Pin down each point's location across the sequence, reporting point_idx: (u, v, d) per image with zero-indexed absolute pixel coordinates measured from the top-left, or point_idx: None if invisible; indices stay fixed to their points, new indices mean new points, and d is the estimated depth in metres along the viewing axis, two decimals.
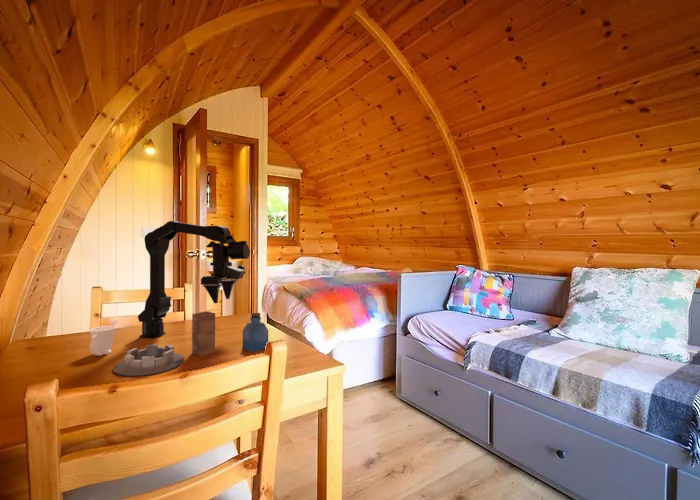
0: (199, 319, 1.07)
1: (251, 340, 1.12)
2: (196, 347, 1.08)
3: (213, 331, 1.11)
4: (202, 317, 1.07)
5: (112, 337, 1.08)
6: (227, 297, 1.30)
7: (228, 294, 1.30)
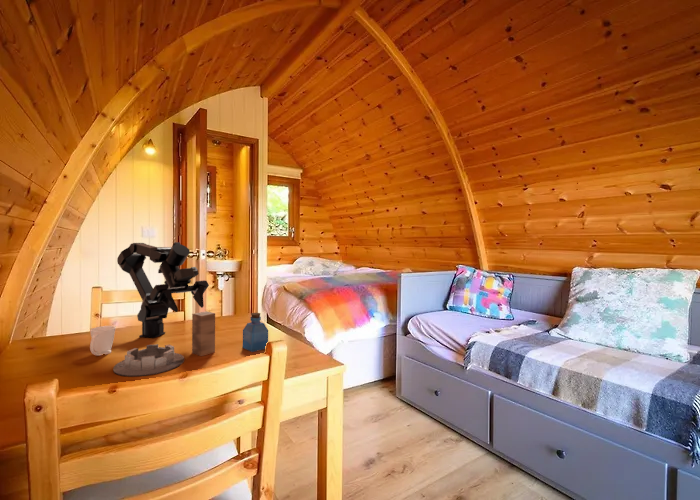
0: (199, 319, 1.07)
1: (251, 340, 1.12)
2: (196, 347, 1.08)
3: (213, 331, 1.11)
4: (202, 317, 1.07)
5: (112, 337, 1.08)
6: (201, 305, 1.19)
7: (200, 302, 1.19)
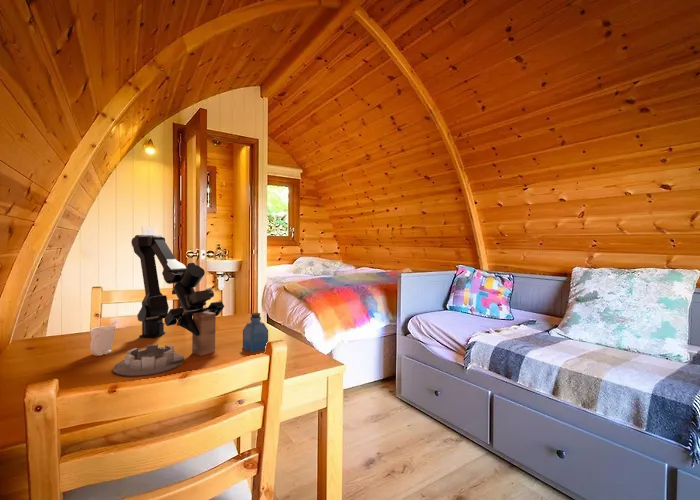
0: (200, 318, 1.07)
1: (251, 340, 1.12)
2: (196, 347, 1.08)
3: (213, 331, 1.11)
4: (202, 317, 1.07)
5: (112, 337, 1.08)
6: None
7: None
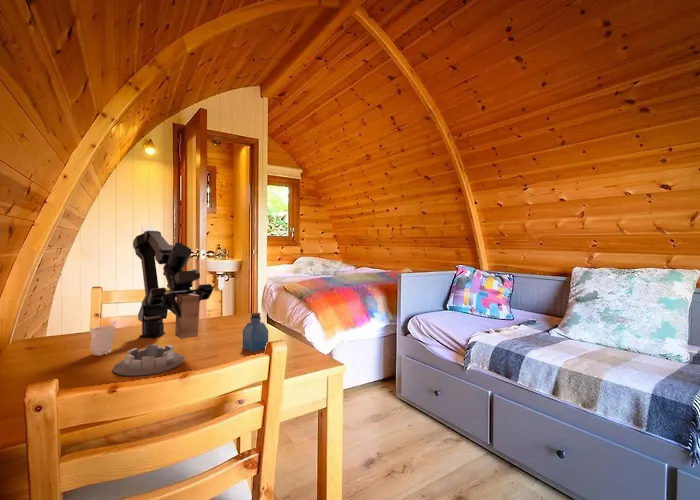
0: (181, 299, 1.03)
1: (251, 340, 1.12)
2: (178, 329, 1.04)
3: (196, 314, 1.05)
4: (184, 298, 1.02)
5: (112, 337, 1.08)
6: None
7: None
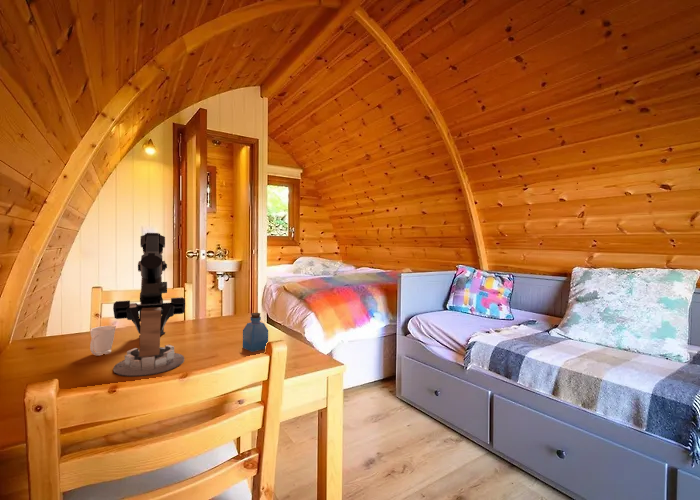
0: None
1: (251, 340, 1.12)
2: None
3: (157, 331, 0.98)
4: (142, 313, 0.96)
5: (112, 337, 1.08)
6: (160, 329, 1.00)
7: None
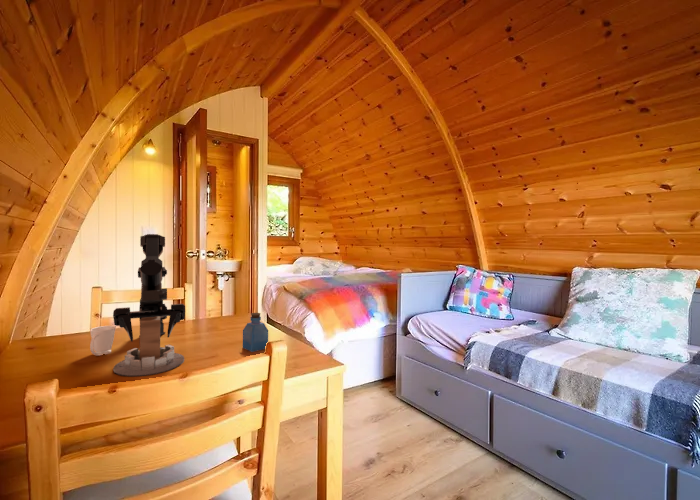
0: (140, 324, 0.96)
1: (251, 340, 1.12)
2: None
3: (157, 340, 0.98)
4: (141, 323, 0.96)
5: (112, 337, 1.08)
6: None
7: None
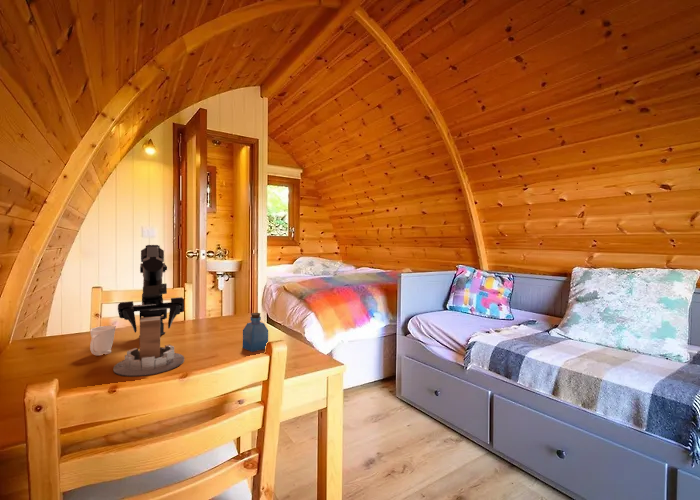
0: (140, 324, 0.96)
1: (251, 340, 1.12)
2: None
3: (157, 340, 0.98)
4: (141, 323, 0.96)
5: (112, 337, 1.08)
6: (168, 326, 1.09)
7: (168, 322, 1.09)
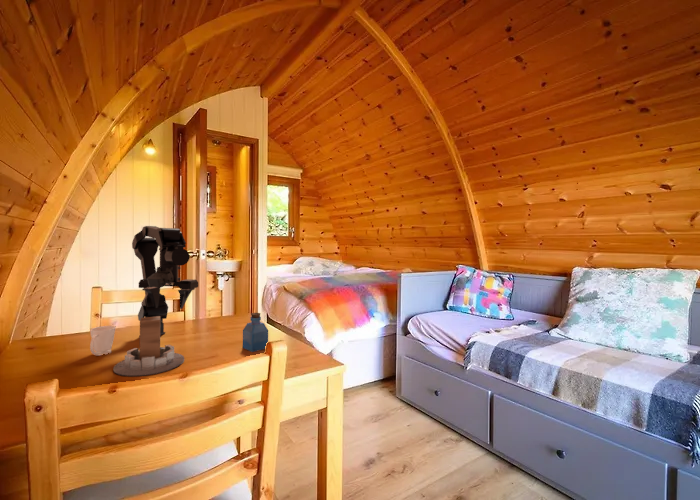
0: (140, 324, 0.96)
1: (251, 340, 1.12)
2: None
3: (157, 340, 0.98)
4: (141, 323, 0.96)
5: (112, 337, 1.08)
6: None
7: None
